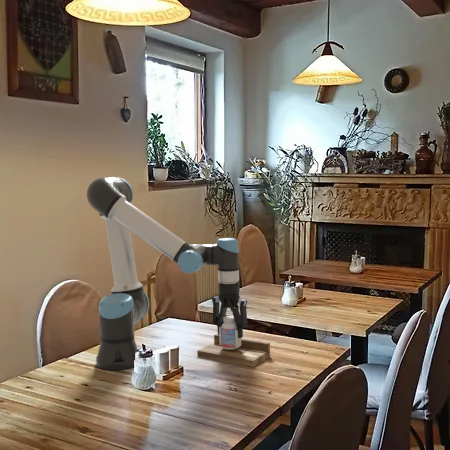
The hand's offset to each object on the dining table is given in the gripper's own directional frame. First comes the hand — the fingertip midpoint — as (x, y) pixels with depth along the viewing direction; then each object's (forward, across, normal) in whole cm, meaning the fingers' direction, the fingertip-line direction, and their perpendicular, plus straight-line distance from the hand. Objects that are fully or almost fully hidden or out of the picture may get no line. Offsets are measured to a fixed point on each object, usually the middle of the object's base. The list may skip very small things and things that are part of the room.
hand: (230, 345), depth 212 cm
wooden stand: (+4, -2, +1) cm, 4 cm away
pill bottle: (+1, 0, 0) cm, 1 cm away
